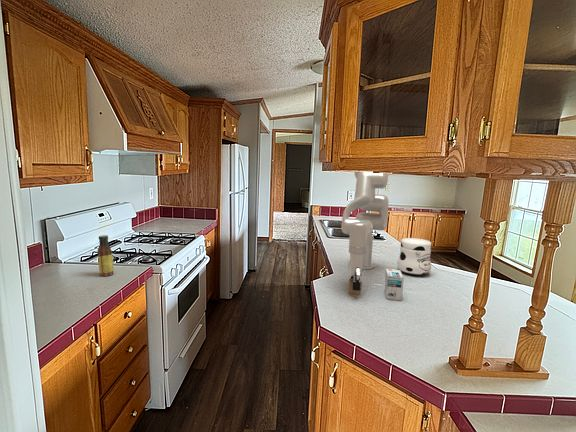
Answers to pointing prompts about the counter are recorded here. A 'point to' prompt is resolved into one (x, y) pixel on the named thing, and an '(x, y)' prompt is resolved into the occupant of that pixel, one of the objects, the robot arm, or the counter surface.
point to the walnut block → (351, 291)
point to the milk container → (415, 256)
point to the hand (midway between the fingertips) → (354, 286)
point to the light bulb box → (394, 284)
